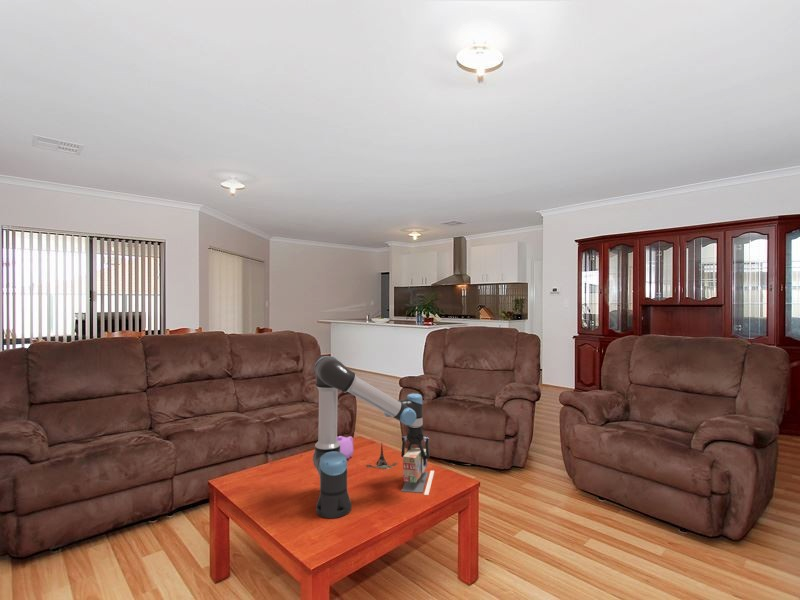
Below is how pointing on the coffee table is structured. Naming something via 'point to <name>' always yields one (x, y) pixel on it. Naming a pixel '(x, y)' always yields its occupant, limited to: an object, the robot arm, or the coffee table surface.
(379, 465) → the eiffel tower figurine
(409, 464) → the stack of blocks
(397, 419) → the robot arm
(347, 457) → the teapot
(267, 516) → the coffee table surface
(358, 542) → the coffee table surface
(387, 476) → the coffee table surface
